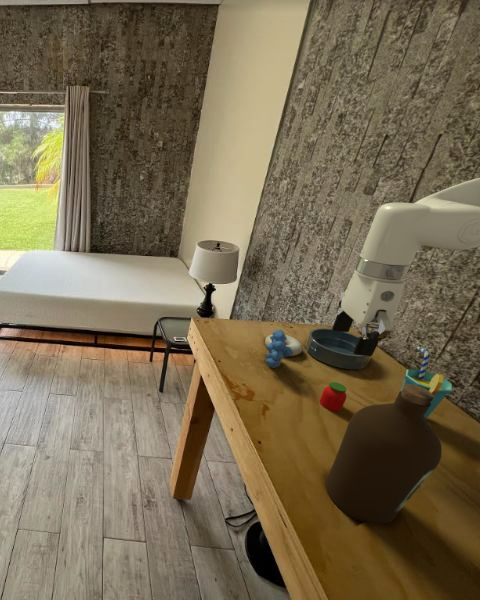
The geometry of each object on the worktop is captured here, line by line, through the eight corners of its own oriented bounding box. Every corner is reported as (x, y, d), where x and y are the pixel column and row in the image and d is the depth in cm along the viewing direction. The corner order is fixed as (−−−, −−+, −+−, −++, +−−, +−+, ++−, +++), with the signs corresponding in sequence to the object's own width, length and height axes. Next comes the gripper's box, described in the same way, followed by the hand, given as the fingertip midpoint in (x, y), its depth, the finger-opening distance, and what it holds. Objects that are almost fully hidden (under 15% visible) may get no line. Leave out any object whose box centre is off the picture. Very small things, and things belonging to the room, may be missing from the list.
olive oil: (317, 503, 56) (370, 394, 46) (324, 462, 64) (372, 360, 53) (398, 546, 50) (482, 432, 39) (396, 495, 57) (466, 387, 47)
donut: (291, 341, 103) (259, 339, 105) (294, 332, 102) (261, 330, 103) (306, 360, 94) (271, 357, 96) (310, 350, 93) (274, 347, 94)
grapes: (289, 382, 85) (301, 345, 80) (260, 375, 88) (271, 338, 83) (286, 359, 95) (298, 324, 89) (261, 353, 97) (270, 319, 92)
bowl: (327, 337, 105) (331, 324, 103) (379, 363, 92) (386, 349, 90) (293, 347, 100) (297, 333, 98) (343, 375, 87) (349, 360, 85)
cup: (375, 389, 82) (399, 340, 76) (414, 398, 79) (442, 348, 73) (397, 428, 71) (427, 375, 64) (444, 440, 68) (480, 385, 61)
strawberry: (327, 396, 80) (335, 378, 78) (345, 408, 76) (354, 390, 74) (315, 400, 79) (322, 382, 76) (333, 413, 75) (341, 394, 73)
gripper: (436, 286, 54) (395, 368, 61) (378, 256, 69) (350, 324, 76) (383, 283, 55) (349, 362, 63) (338, 254, 71) (315, 321, 78)
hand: (350, 342), depth 69 cm, fingers open, 9 cm apart
